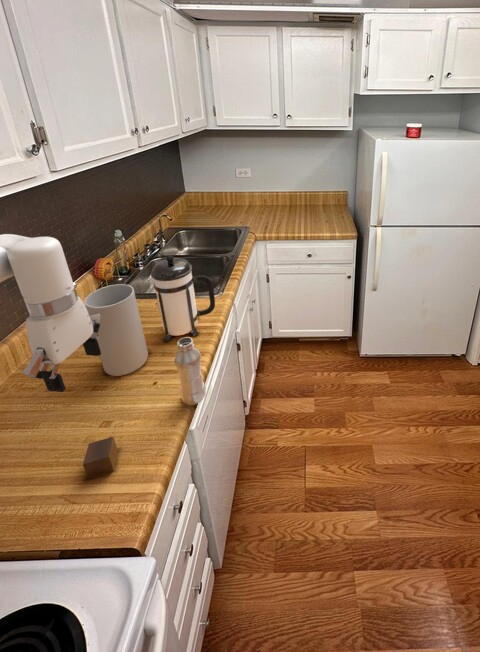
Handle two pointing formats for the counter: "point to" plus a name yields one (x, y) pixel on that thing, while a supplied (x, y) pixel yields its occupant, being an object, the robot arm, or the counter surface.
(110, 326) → the cylinder vase
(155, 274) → the coffee press
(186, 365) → the plastic bottle
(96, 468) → the walnut block
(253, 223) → the counter surface
